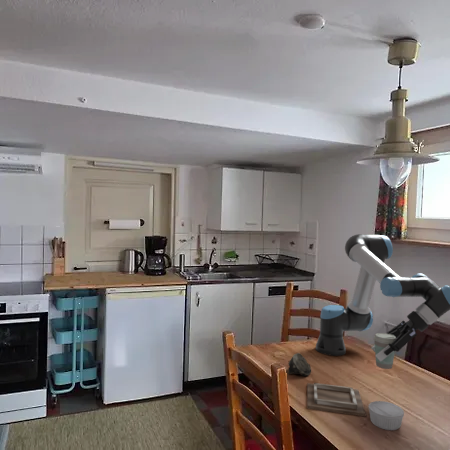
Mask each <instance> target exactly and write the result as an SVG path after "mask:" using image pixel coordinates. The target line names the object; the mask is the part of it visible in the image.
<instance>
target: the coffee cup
mask: <svg viewBox="0 0 450 450" xmlns="http://www.w3.org/2000/svg"><path fill="white" fill-rule="evenodd" d="M395 339H396V337H395V336H394V335H391V334H387V332H379V333H375V335H374V337H373V340H374V345H375V352H374V353H375V355H376V354H378V353H379V352H380V351H382V350H383V349H384V348H385V347H387V346H388V344H392V342H393V341H394V340H395ZM395 353H396V351H394V352H392V353H391V354H390V355H388V356H387V357H386V358H385V359H383V360H382V361H381V362H380V361H379V359H378V358H377V357H376V356H375V366H376V367H378V368H381V369H384V370H391V369H393V365H394V358H395V355H396V354H395Z"/></svg>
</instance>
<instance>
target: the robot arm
mask: <svg viewBox="0 0 450 450" xmlns="http://www.w3.org/2000/svg"><path fill="white" fill-rule="evenodd" d="M393 249H394V247H393V244H392V241H391V239H390V237H388V236H387V235H380V234H354V235H352V236H350V237H349V238H348V239H347V240H346V243H345V246H344V251H345V254H346V256H347V258H348V259H350V260H351V261H352V262H354V263H358V265H359V266H360V268H359V273H358V277H357V280H356V285H355V287H354V292H353V295H352V299H351V301H349V302H348V304H347V306H346V308H344V306H343V305H339V304H337V305H335V304H330V305H329V304H328V305H325V306H323V307H322V308H321V311H320V314H319V315H320V317H319V318H320V322H319V323H320V327H319V336H318V339H317V341H316V344H315V350H316V352H318V353H320V354H323V355H328V356H334V357H336V356H337V357H338V356H343V355H345V354H346V350H347V348H346V345H345V341H344V337H343V336H344V335H343V334H344V332H363V331H368V330H369V329H371V327H372V326H373V324H374V323H373V322H374V315H373V313H372V309H371V308H370V303H371V299H372V296H373V291H374V288H375V285H376V281H377V283H379V285H380V286H379V287H380V291H381V293H382V294H383V296H385V297H389V298H390V297H392V298H403V297H405V298H406V297H407V298H408V297H410V298H413V297H414V298H417V297H418V298H419V297H420V298H423V300H425V301H424V302H422V303H421V304H420V305H418V306H417V307H416V308H415V310H413V311H411V312H410V313H409V314H408V315H406V318H407V319H408V321H405V320H402V321H401V322H399V324H397V325H395V327H393V328H391V329H390V330H389V331H387V332H386V333H387V334H391V335H394V336H395V337H396V339H395V340H394V341H393V342H392V344H388V346H387V347H385V348H384V349H383V350H382V351H380V352H379V353H378V354H376V355H375V358H376V357H377V358H378V359H379V361H380V362H381V361H382V360H383V359H385V358H386V357H387V356H388V355H390V354H391V353H392V352H394V351H395V352H399V351H400V350H401V349H402V348H403V347H404V346H406V345H407V344H409V342H410V341H411V340H412V339H414V338H415V337H416V336H417V335H418V334H417V332H416V331H417V330H418V331H420V332H421V333H422V332H424V331H425V330H426V329H428V328H429V325H430V326H431V325H433V323H437V321H438V320H439V319H440V318H441V317H442V316H444V315H445V314H446V313H447V312H449V311H450V285H448V284H445V285H443V286H440V285H438V284H437V283H436V282H435V281H434V280H433V279H432V278H430V276H428V275H426V274H423V273H421V272H420V273H419V272H418V273H416V274H414V275H412V276H411V277H403V276H400V275H399V274H398V273H396V272H395V271H394V270H392V269H391V268H390V267H389V266H388V265H387V264H386V263H385V261H386V260H389V259H390V258H392V256H393V254H394V253H393V251H394V250H393ZM371 350H372V351H373V352H374V353H375V344H374V345H373V346H371Z"/></svg>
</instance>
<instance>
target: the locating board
mask: <svg viewBox="0 0 450 450" xmlns="http://www.w3.org/2000/svg"><path fill="white" fill-rule="evenodd" d="M306 385H307V386H306V389H307V395H306V396H307V397H306V398H307V401H306V402H307V404H306V405H307V407H306V409H310V410H316V411H317V410H318V411H325V412H332V413H338V414H347V415H352V416H353V415H354V416H358V417H359V416H360V417H361V416H362V417H366V416H367V415H366V411H365V407H364V404H363V400H362V397H361V394H360V391H359V388H358V389H357V388H354V387H350V386H344V385H343V386H342V385H333V384H326V383H318V382H313V383H311V382H310V383H309V382H307V384H306Z"/></svg>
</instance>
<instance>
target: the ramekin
mask: <svg viewBox="0 0 450 450" xmlns="http://www.w3.org/2000/svg"><path fill="white" fill-rule="evenodd" d="M367 409H368V411H369V412H368V413H369V419H370V422H371V423H372V424H373V425H374V426H376V427H377V428H379V429H383V430H385V431H396V430H399V428H401V426H402V423H403V417H405V411H404V410H403V408H401V406H399V405H396V404H394V403H392V402H390V401H389V402H388V401H383V400H382V401H381V400H374V401H372V402H370V403H369V404H368V408H367Z"/></svg>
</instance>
